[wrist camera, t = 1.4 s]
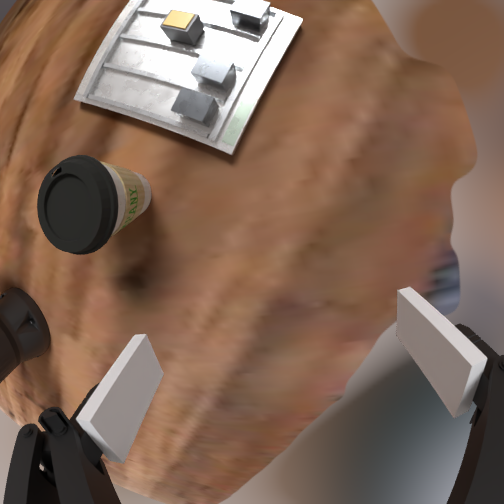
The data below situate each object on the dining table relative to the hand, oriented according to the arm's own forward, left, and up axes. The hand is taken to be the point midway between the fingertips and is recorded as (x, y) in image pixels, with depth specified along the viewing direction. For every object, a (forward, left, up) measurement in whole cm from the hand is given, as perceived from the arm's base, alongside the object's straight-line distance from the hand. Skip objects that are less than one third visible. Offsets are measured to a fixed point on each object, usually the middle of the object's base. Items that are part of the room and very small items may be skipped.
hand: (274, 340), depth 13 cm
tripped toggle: (-21, +21, -22) cm, 37 cm away
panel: (-21, +19, -24) cm, 37 cm away
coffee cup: (-19, -2, -25) cm, 31 cm away
